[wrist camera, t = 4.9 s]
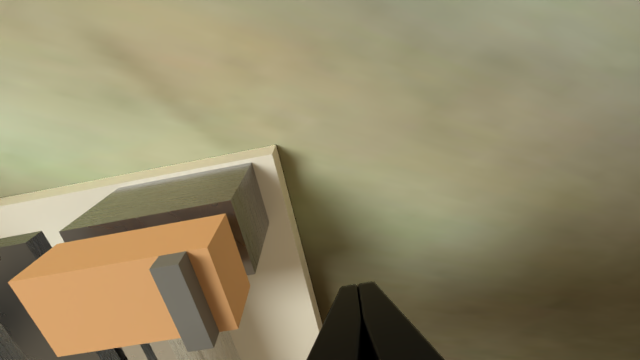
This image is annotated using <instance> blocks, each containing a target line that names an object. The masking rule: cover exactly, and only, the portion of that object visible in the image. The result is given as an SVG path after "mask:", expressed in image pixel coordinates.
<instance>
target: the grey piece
mask: <svg viewBox="0 0 640 360" xmlns="http://www.w3.org/2000/svg"><path fill="white" fill-rule="evenodd" d="M225 213H226V216H227V219H228V222H229V225H230V227H231V230H232V233H233V236H234V239H235V242H236V245H237V248H238V251H239V254H240V257H241V260H242V263H243V266H244V268H245V271H246V274H247V275H253V274H255V273H256V269H257V265H258V262H259V258H260V255H261V251H262V248H263V244H264V240H265V237H266V233H267V230H268V226H269V220H268V216H267V213H266V209H265V206H264V202H263V199H262V196H261V192H260V189H259V185H258V182H257V178H256V175H255V171H254V168H253V165H252V162H251V163H246V164H240V165H235V166H230V167H225V168H219V169H214V170H209V171H204V172H199V173H193V174H188V175H183V176H178V177H172V178H167V179H162V180H157V181H152V182H146V183H141V184H136V185H131V186H125V187H120V188H118V189H116V190H115V191H113V192H112V193H111V194H109V195H108V196H107V197H105V198H104V199H103V200H101V201H100V202H99V203H97V204H96V205H94V206H93V207H92V208H90V209H89V210H88V211H86V212H85V213H84V214H82V215H81V216H79V217H78V218H77V219H75V220H74V221H73V222H71V223H70V224H69V225H67V226H66V227H64V228H63V229H62V230H60V231H59V233H60V235H61V237H62V239H63V241H64V242H71V241H76V240H82V239H87V238H93V237H98V236H104V235H109V234H115V233H120V232H126V231H131V230H137V229H142V228H148V227H153V226H159V225H164V224H170V223H176V222H181V221H187V220H192V219H198V218H203V217H209V216H214V215H220V214H225ZM114 349H115V351H116V353H117V354H118V356H119V357H120V359H121V360H240V357H239V355H238V352H237V350H236V347H235V345H234V342H233V340H232V337H231V335H230V332H229V331H223V332H219V335H218V338H217V341H216V343H215V346H214V348H212V349H205V350H199V351H192V352H187V349H186V347H185V345H184V343H183V341H182V339H181V338H178V339H171V340H165V341H158V342H152V343H145V344H139V345H132V346H126V347H119V348H114ZM0 360H28V359H27V357H26V356H25V355H24V354H23V352H22V351H21V350H20V348H19V347H18V346H17V344H16V343H15V342H14V340H13V339H12V338H11V337H10V335H9V334H8V333H7V331H6V330H5V329H4V327H3V326H2V325H1V324H0Z"/></svg>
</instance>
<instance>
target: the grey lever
mask: <svg viewBox="0 0 640 360" xmlns="http://www.w3.org/2000/svg"><path fill="white" fill-rule="evenodd" d="M51 248H52V246H51V245H50V243H49V241H48V240H47V238H46V237H45V235H44V233H43V232H42V231H38V232H32V233H27V234H21V235H16V236H11V237H5V238H0V324H1V325H2V326H3V327H4V329H5V330H6V331H7V333H8V334H9V335H10V337H11V338H12V339H13V340H14V342H15V343H16V344H17V346H18V347H19V348H20V350H21V351H22V352H23V354H24V355H25V356H26V357H27V359H28V360H121V359H120V357H119V356H118V354H117V353H116V351H115V349H114V348H113V349H106V350H100V351H93V352H87V353H80V354H74V355H67V356H61V357H57V355H56V354H55V352H54V351H53V349H52V348H51V346H50V345H49V343H48V342H47V340H46V339H45V337H44V336H43V334H42V333H41V331H40V330H39V328H38V327H37V325H36V324H35V322H34V321H33V319H32V318H31V316H30V315H29V313H28V312H27V310H26V309H25V307H24V306H23V304H22V303H21V301H20V300H19V298H18V297H17V295H16V294H15V292H14V291H13V289H12V288H11V286H10V285H9V283H8V282H9V281H10V280H11V279H13V278H14V277H15V276H16V275H18V274H19V273H20V272H22V271H23V270H24V269H25V268H27V267H28V266H29V265H31V264H32V263H33V262H34V261H36V260H37V259H38V258H40V257H41V256H42V255H43V254H45V253H46V252H47V251H49V250H50V249H51Z"/></svg>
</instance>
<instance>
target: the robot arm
mask: <svg viewBox="0 0 640 360" xmlns="http://www.w3.org/2000/svg"><path fill="white" fill-rule="evenodd" d="M306 360H444V358H443V357H442V356H441V355H440V354H439V353H438V352H437V351H436V350H435V348H434V347H433V346H432V345H431V344H430V343H429V342H428V341H427V340H426V339H425V337H424V336H423V335H422V334H421V333H420V332H419V331H418V330H417V329H416V327H415V326H414V325H413V324H412V323H411V322H410V321H409V320H408V319H407V318H406V316H405V315H404V314H403V313H402V312H401V311H400V310H399V309H398V308H397V306H396V305H395V304H394V303H393V302H392V301H391V300H390V299H389V298H388V296H387V295H386V294H385V293H384V292H383V291H382V290H381V289H380V288H379V287H378V285H377V284H376V283H375V282H366V283H360V284H359V285H358V286H357V285H356V284H353V285H347V286H342V287H341V288H340V290H339V292H338V294H337V296H336V298H335V300H334V302H333V305H332V307H331V309H330V311H329V313H328V315H327V317H326V319H325V321H324V324H323V326H322V328H321V330H320V332H319V334H318V336H317V338H316V340H315V342H314V345H313V347H312V349H311V351H310V353H309V355H308V357H307V359H306Z"/></svg>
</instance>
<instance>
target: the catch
mask: <svg viewBox="0 0 640 360" xmlns="http://www.w3.org/2000/svg"><path fill="white" fill-rule="evenodd" d="M8 283H9V285H10V286H11V288H12V289H13V291H14V292H15V294H16V295H17V297H18V298H19V300H20V301H21V303H22V304H23V306H24V307H25V309H26V310H27V312H28V313H29V315H30V316H31V318H32V319H33V321H34V322H35V324H36V325H37V327H38V328H39V330H40V331H41V333H42V334H43V336H44V337H45V339H46V340H47V342H48V343H49V345H50V346H51V348H52V349H53V351H54V352H55V354H56V355H57V357H61V356H67V355H74V354H80V353H87V352H93V351H100V350H106V349H113V348H119V347H126V346H132V345H139V344H145V343H152V342H158V341H165V340H171V339H178V338H181V339H182V341H183V343H184V345H185V347H186V349H187V352H192V351H199V350H205V349H212V348H214V346H215V343H216V341H217V338H218V335H219V332H223V331H229V330H236V329H238V328H239V324H240V321H241V317H242V314H243V310H244V307H245V303H246V300H247V296H248V293H249V289H250V283H249V280H248V277H247V274H246V271H245V268H244V266H243V263H242V260H241V257H240V254H239V251H238V248H237V245H236V242H235V239H234V236H233V233H232V230H231V227H230V225H229V222H228V219H227V216H226V213H225V214H220V215H214V216H209V217H203V218H198V219H192V220H187V221H181V222H176V223H170V224H164V225H159V226H153V227H148V228H142V229H137V230H131V231H126V232H120V233H115V234H109V235H104V236H98V237H93V238H87V239H82V240H76V241H71V242H65V243H60V244H56V245H55V246H54V247H52V248H51V249H50V250H49V251H47V252H46V253H45V254H43V255H42V256H41V257H40V258H38V259H37V260H36V261H34V262H33V263H32V264H31V265H29V266H28V267H27V268H25V269H24V270H23V271H22V272H20V273H19V274H18V275H16V276H15V277H14V278H13V279H11V280H10V281H9V282H8Z"/></svg>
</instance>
